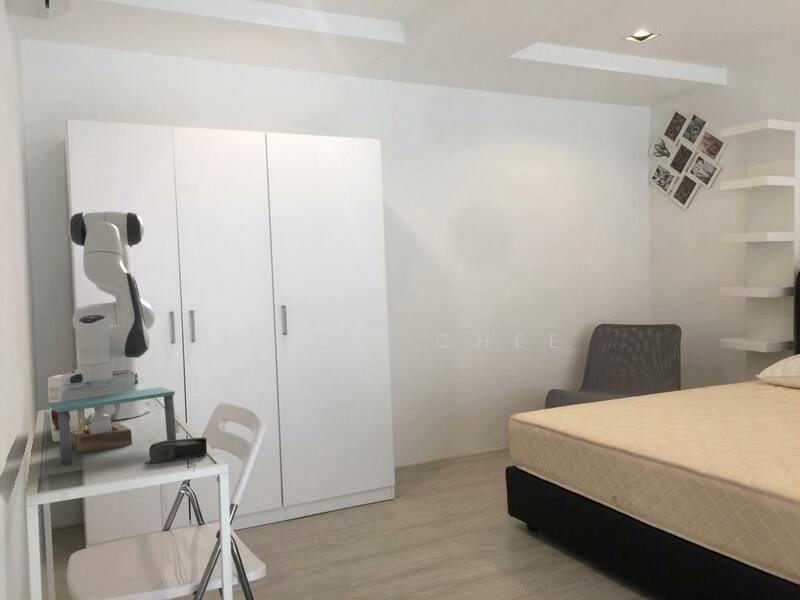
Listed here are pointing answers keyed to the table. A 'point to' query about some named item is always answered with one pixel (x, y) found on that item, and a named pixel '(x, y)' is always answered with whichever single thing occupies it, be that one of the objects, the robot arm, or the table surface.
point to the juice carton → (74, 418)
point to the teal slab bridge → (109, 399)
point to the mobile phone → (177, 450)
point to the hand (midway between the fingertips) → (99, 422)
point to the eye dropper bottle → (100, 422)
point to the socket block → (101, 439)
